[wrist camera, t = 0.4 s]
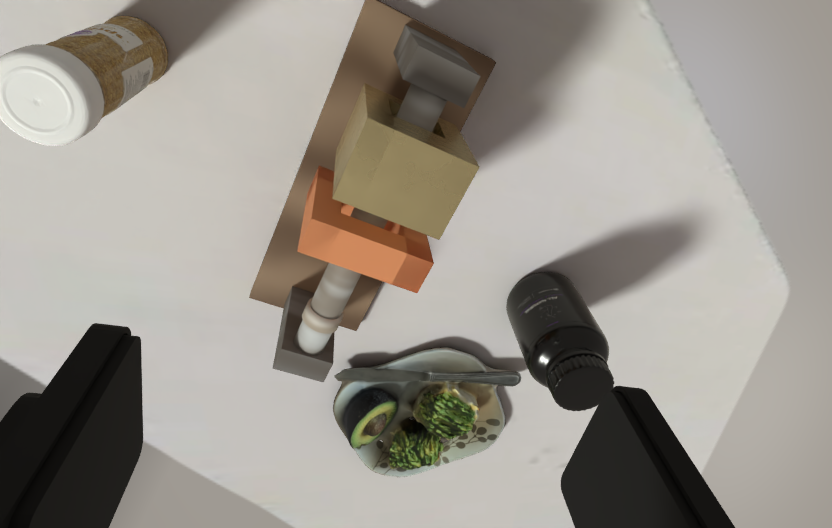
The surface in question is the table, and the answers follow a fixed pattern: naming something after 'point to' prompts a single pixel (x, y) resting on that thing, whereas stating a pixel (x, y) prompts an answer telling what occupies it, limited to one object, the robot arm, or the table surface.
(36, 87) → the sprinkles bottle
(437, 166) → the sleeve
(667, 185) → the table surface
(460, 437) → the avocado toast plate
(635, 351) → the table surface
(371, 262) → the orange rectangular slab
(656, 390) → the table surface
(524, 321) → the supplement bottle
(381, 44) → the machine model on base
